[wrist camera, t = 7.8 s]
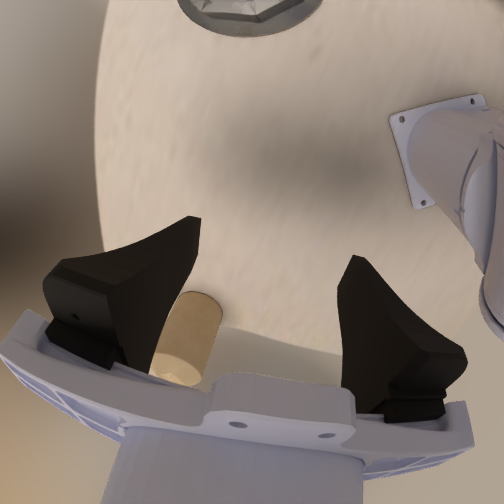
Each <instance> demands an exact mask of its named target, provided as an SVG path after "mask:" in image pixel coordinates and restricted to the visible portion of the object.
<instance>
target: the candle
mask: <svg viewBox="0 0 504 504" xmlns="http://www.w3.org/2000/svg"><path fill="white" fill-rule="evenodd" d="M221 318H222V311H221V308H220V306H219V305H218V304H217V302H216V301H214V300H213V299H212V298H210V297H209V296H207V295H205V294H202V293H198V292H187V293H184V294H182V295H181V296H180V297H179V298H178V299H177V301H176V303H175V305H174V307H173V309H172V311H171V313H170V315H169V317H168V319H167V320H166V322H165V325H164V327H163V330H162V333H161V335H160V338H159V341H158V344H157V347H156V350H155V353H154V356H153V359H152V363H151V368H152V370H153V371H154V372H155V374H156V375H157V376H158V377H159V378H161V379H164V380H167V381H170V382H173V383H177V384H180V385H183V386H187V387H189V386H192V385H194V384H197V383H199V382H200V381H201V379H202V376H203V373H204V370H205V367H206V364H207V361H208V358H209V355H210V352H211V349H212V346H213V343H214V340H215V337H216V334H217V331H218V328H219V325H220V322H221Z"/></svg>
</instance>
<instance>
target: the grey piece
mask: <svg viewBox="0 0 504 504" xmlns="http://www.w3.org/2000/svg"><path fill="white" fill-rule="evenodd" d="M177 1H178V3H179V5H180V7H181V9H182V10H183V12H184V13H185V14H186V15H187V16H188V17H189V18H190V19H191V20H192V21H194V22H195V23H196V24H198V25H200V26H202V27H203V28H205V29H207V30H210V31H212V32H215V33H218V34H222V35H227V36H233V37H258V36H265V35H270V34H274V33H278V32H281V31H284V30H286V29H288V28H291V27H293V26H295V25H297V24H298V23H300V22H302V21H303V20H305V19H306V18H307V17H309V16H310V15H311V14H312V13H313V12H314V11H315V10H316V9H317V7H318V6H319V5H320V3H321V1H322V0H177Z"/></svg>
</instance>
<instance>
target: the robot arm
mask: <svg viewBox="0 0 504 504" xmlns="http://www.w3.org/2000/svg"><path fill="white" fill-rule="evenodd" d="M471 99H472V101H473V103H472V104H471V102H470V100H471ZM400 116H403V118H404V120H403V122H400V121H399V117H400ZM389 123H390V126H391V129H392V132H393V135H394V138H395V141H396V145H397V148H398V151H399V155H400V158H401V162H402V165H403V169H404V173H405V177H406V181H407V185H408V189H409V193H410V198H411V202H412V206H413V207H414V209H416V210H420V209H423V208H426V207H429V206H432V205H435V204H437V205H438V206H439V207H440V208H441V209H442V210H443V211H444V213H445V214H446V215H447V216H448V217H449V218H450V220H451V221H452V222H453V223H454V224H455V226H456V227H457V228H458V229H459V231H460V232H461V233H462V234H463V236H464V237H465V238H466V239H467V241H468V242H469V243H470V244H471V246H472V247H473V249H474V252H475V262H476V264H477V265H478V267H479V268H480V270H481V271H482V273H483V274H485V275H484V276H483V278H482V281H481V285H480V289H479V306H480V309H481V313H482V315H483V318H484V320H485V322H486V323H487V325H488V326H489V328H490V329H491V330H492V331H493V332H494V334H495V335H496V336H497V337H499V338H500V339H501V340H502V341H504V111H502V110H498V109H495V108H491V107H488V106H486V102H485V98H484V96H483V95H481V94H473V95H468V96H463V97H458V98H454V99H449V100H445V101H441V102H436V103H432V104H428V105H424V106H421V107H417V108H413V109H410V110H406V111H402V112H399V113H395V114H392V115H391V116H390V117H389ZM422 200H425V202H424V203H423V204H421V201H422ZM200 227H201V218H198V217H193V216H187V217H185V218H183V219H181V220H179V221H178V222H176V223H174V224H172V225H170V226H169V227H167V228H165V229H163V230H161V231H159V232H157V233H155V234H153V235H151V236H149V237H147V238H145V239H143V240H140V241H138V242H136V243H133V244H130V245H128V246H125V247H122V248H118V249H115V250H112V251H108V252H104V253H100V254H95V255H90V256H84V257H77V258H68V259H62V260H61V261H60V262H59V263H58V264H57V265H56V266H55V267H54V268H53V270H52V271H51V272H50V273H49V274H48V275H47V276H46V277H45V278H44V280H43V292H44V295H45V298H46V300H47V303H48V305H49V307H50V310H51V312H52V314H53V316H54V319H53V320H52V322H51V323H49V322H48V321H47V320H46V319H45V318H43V317H42V316H40V315H38V314H36V313H34V312H33V311H31V310H29V309H27V310H26V311H25V312H24V313H23V315H22V316H21V317H20V318H19V320H18V321H17V322H16V324H15V325H14V327H13V328H12V329H11V331H10V332H9V333H8V335H7V336H6V338H5V339H4V340H3V342H2V343H1V345H0V358H1V359H2V360H3V361H4V363H5V364H6V365H7V366H8V368H9V369H10V370H11V371H12V372H13V374H14V375H15V376H16V377H17V378H18V379H19V380H20V382H21V383H22V384H23V385H25V386H26V387H27V388H29V389H30V390H32V391H33V392H34V393H36V394H37V395H39V396H40V397H42V398H43V399H44V400H46V401H47V402H49V403H50V404H52V405H53V406H55V407H56V408H58V409H59V410H61V411H63V412H64V413H66V414H67V415H69V416H71V417H72V418H74V419H75V420H77V421H79V422H81V423H82V424H84V425H86V426H88V427H89V428H91V429H93V430H95V431H97V432H98V433H100V434H102V435H104V436H106V437H108V438H110V439H112V440H114V441H116V442H118V443H120V444H121V445H120V448H119V451H118V454H117V456H116V459H115V462H114V465H113V468H112V470H111V473H110V476H109V479H108V482H107V485H106V488H105V491H104V494H103V497H102V500H101V504H363V481H366V480H373V479H379V478H385V477H390V476H395V475H400V474H405V473H409V472H414V471H418V470H422V469H426V468H430V467H434V466H438V465H440V464H442V463H444V462H446V461H448V460H450V459H452V458H454V457H456V456H458V455H460V454H462V453H464V452H466V451H468V450H469V449H471V448H473V447H474V446H475V445H474V438H473V433H472V428H471V423H470V418H469V414H468V410H467V406H466V402H465V401H456V402H449V403H447V404H445V405H444V402H443V399H444V398H445V397H446V396H447V394H446V390H445V389H446V388H448V387H449V386H450V385H451V384H452V383H453V382H454V381H455V380H457V379H458V378H459V377H460V376H461V375H462V374H463V372H464V371H465V369H466V367H467V364H468V361H467V357H466V355H465V352H464V350H463V348H462V347H461V346H459V345H458V344H456V343H454V342H453V341H451V340H449V339H448V338H446V337H444V336H443V335H442V334H440V333H439V332H437V331H436V330H435V329H433V328H432V327H431V326H429V325H428V324H427V323H426V322H424V321H423V320H422V319H421V318H420V317H419V316H417V315H416V314H415V313H414V312H413V311H412V310H411V309H410V308H409V307H408V306H407V305H406V304H405V303H404V302H403V301H402V300H401V299H400V298H399V297H398V296H397V294H396V293H395V292H394V291H393V290H392V289H391V288H390V286H389V285H388V284H387V283H386V282H385V281H384V279H383V278H382V277H381V276H380V274H379V273H378V272H377V271H376V270H375V268H374V267H373V266H372V265H371V264H370V263H369V262H368V261H367V260H366V259H365V258H364V257H360V256H357V255H352V258H351V260H350V262H349V264H348V266H347V268H346V270H345V272H344V275H343V277H342V279H341V281H340V283H339V285H338V287H337V306H338V314H339V322H340V329H341V337H342V348H343V360H342V362H343V363H342V380H341V387H338V386H335V385H327V384H318V383H311V382H303V381H297V380H290V379H284V378H279V377H273V376H267V375H262V374H257V373H248V372H232V373H228V374H223V375H220V376H219V377H218V378H217V379H216V380H215V381H214V382H213V384H212V388H211V392H208V391H202V390H198V389H194V388H190V387H187V386H183V385H180V384H177V383H173V382H170V381H167V380H164V379H161V378H158V377H155V376H152V375H149V374H148V373H149V370H150V366H151V363H152V359H153V356H154V353H155V350H156V347H157V344H158V341H159V338H160V335H161V333H162V330H163V327H164V325H165V322H166V319H167V317H168V314H169V312H170V310H171V308H172V306H173V304H174V302H175V300H176V298H177V296H178V295H179V293H180V291H181V289H182V287H183V286H184V284H185V282H186V280H187V278H188V276H189V275H190V273H191V271H192V268H193V266H194V263H195V261H196V258H197V256H198V248H199V237H200Z"/></svg>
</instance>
